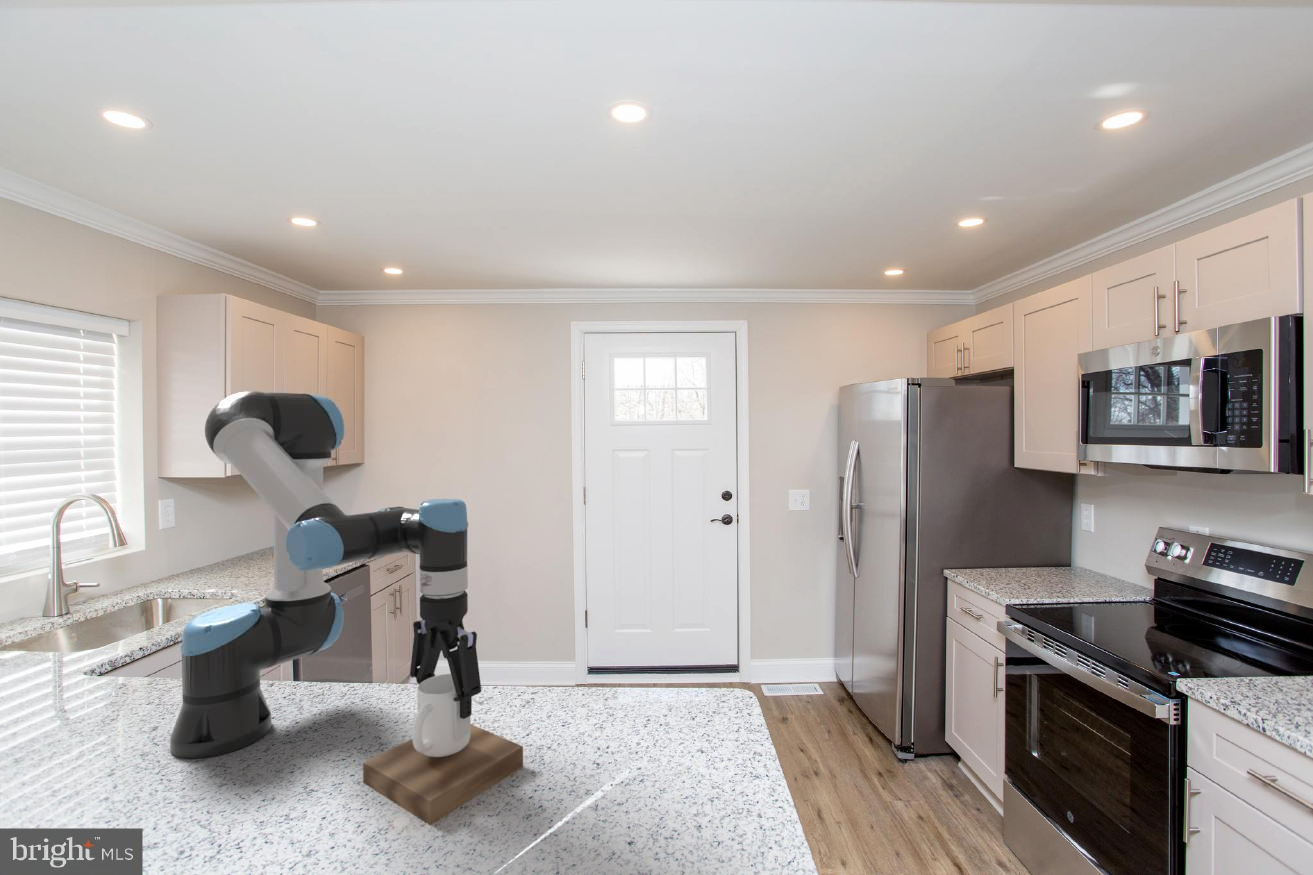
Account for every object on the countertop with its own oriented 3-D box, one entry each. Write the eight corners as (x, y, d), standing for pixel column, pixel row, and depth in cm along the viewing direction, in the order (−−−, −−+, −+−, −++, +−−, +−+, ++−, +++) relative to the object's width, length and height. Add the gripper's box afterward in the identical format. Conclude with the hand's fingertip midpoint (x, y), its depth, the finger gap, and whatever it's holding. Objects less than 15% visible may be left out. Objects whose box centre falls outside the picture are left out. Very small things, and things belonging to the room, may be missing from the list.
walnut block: (363, 786, 95) (363, 762, 95) (456, 738, 110) (456, 717, 110) (430, 828, 85) (430, 800, 85) (523, 769, 100) (522, 746, 100)
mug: (436, 775, 89) (436, 707, 89) (390, 767, 91) (390, 701, 91) (480, 735, 101) (479, 676, 101) (438, 729, 103) (438, 671, 103)
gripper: (386, 588, 100) (387, 720, 101) (466, 608, 89) (467, 757, 89) (425, 579, 107) (426, 703, 107) (504, 597, 95) (505, 736, 95)
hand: (444, 727), depth 98 cm, fingers closed on mug, 8 cm apart
